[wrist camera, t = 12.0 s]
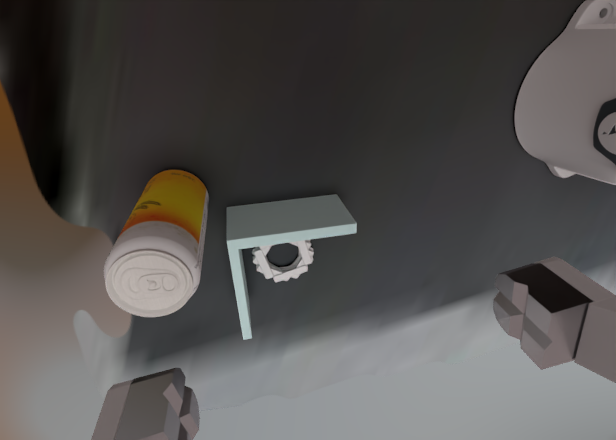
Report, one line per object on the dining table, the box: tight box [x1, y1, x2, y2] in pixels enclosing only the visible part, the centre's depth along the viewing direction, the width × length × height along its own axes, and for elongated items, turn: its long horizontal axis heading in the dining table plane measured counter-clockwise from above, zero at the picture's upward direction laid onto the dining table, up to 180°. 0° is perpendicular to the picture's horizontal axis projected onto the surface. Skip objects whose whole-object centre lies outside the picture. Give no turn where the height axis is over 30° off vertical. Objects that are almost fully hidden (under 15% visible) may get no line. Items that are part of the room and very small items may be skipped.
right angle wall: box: [227, 194, 357, 340], centre depth 39 cm, size 12×12×8 cm
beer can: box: [104, 170, 209, 317], centre depth 30 cm, size 6×6×15 cm
